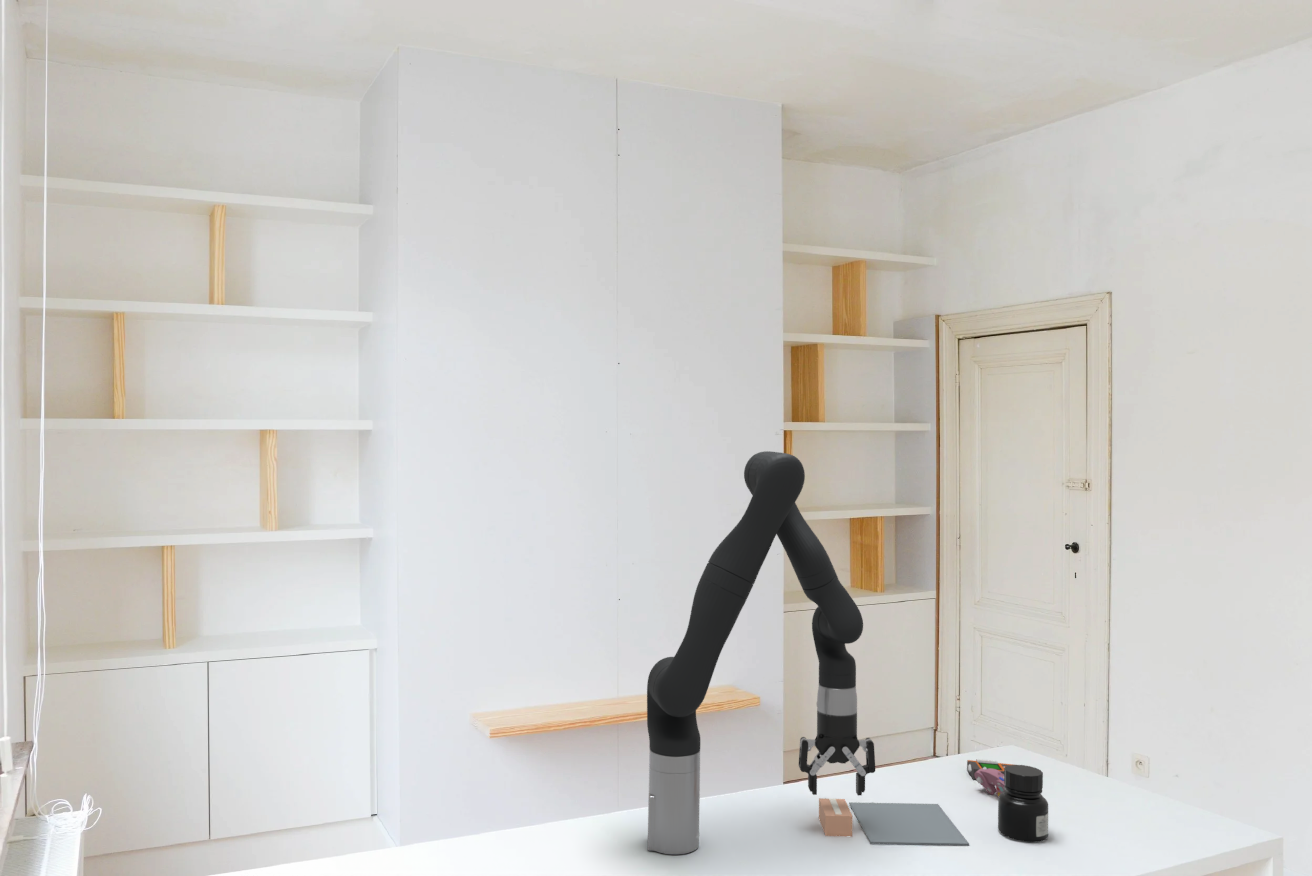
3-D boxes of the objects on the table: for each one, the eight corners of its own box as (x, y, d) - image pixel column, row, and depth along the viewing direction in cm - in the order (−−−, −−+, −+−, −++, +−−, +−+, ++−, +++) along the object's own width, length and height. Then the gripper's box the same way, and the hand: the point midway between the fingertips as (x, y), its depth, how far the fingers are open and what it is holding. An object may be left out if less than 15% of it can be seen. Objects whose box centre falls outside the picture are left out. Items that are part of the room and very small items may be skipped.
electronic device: (1042, 774, 212) (972, 767, 213) (1041, 787, 212) (971, 780, 213) (1034, 764, 218) (965, 757, 220) (1033, 777, 218) (964, 770, 220)
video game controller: (978, 796, 207) (967, 769, 206) (993, 784, 209) (982, 757, 208) (1013, 812, 199) (1002, 783, 197) (1028, 799, 200) (1017, 771, 199)
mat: (870, 844, 177) (870, 841, 177) (849, 804, 197) (849, 802, 197) (969, 845, 177) (969, 843, 177) (937, 805, 197) (937, 803, 197)
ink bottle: (1052, 846, 177) (1053, 780, 178) (1002, 842, 179) (1002, 776, 179) (1042, 826, 187) (1043, 764, 187) (994, 822, 189) (995, 760, 189)
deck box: (825, 837, 181) (825, 814, 181) (818, 818, 190) (819, 797, 190) (852, 837, 181) (852, 815, 181) (844, 819, 190) (844, 798, 190)
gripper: (802, 713, 182) (802, 800, 182) (878, 714, 182) (878, 801, 182) (797, 703, 189) (796, 786, 189) (870, 703, 189) (869, 787, 189)
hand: (836, 793), depth 185 cm, fingers open, 8 cm apart
